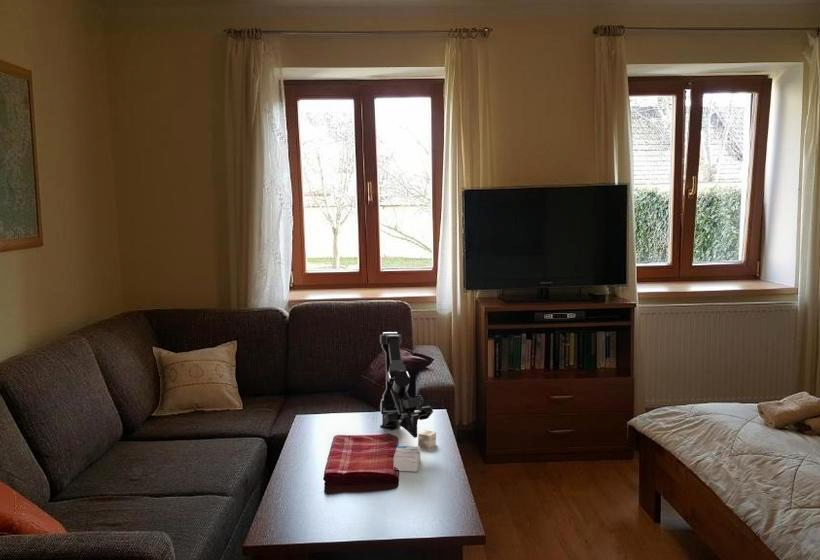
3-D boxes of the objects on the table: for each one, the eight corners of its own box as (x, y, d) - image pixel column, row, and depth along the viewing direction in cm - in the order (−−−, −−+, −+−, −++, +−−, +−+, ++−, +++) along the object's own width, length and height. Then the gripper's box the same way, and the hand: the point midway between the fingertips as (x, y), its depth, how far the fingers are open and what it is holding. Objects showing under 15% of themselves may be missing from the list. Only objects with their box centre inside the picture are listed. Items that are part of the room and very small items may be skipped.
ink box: (397, 457, 229) (392, 471, 217) (397, 444, 228) (393, 457, 217) (420, 458, 228) (417, 472, 216) (420, 445, 227) (417, 459, 216)
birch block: (418, 446, 241) (418, 433, 240) (424, 441, 245) (424, 429, 244) (429, 448, 238) (429, 436, 238) (435, 444, 242) (436, 432, 242)
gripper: (386, 391, 224) (401, 431, 216) (431, 384, 233) (446, 422, 225) (376, 406, 232) (390, 445, 224) (420, 399, 241) (434, 436, 233)
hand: (415, 437), depth 226 cm, fingers closed
